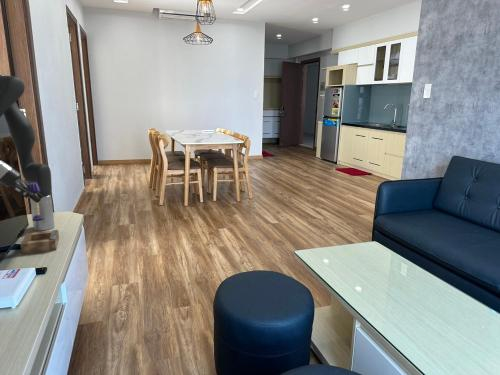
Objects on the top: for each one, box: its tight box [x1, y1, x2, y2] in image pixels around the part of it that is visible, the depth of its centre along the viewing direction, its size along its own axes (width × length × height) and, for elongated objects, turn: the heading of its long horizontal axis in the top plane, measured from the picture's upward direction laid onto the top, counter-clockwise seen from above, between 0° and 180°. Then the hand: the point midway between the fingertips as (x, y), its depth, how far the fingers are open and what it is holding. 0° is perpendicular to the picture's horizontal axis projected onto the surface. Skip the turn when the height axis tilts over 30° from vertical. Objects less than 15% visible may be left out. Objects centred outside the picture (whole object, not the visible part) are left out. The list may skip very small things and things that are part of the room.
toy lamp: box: [29, 182, 43, 222], centre depth 153 cm, size 5×5×17 cm
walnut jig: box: [20, 229, 60, 255], centre depth 158 cm, size 13×13×5 cm
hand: (40, 199), depth 154 cm, fingers closed on toy lamp, 4 cm apart
